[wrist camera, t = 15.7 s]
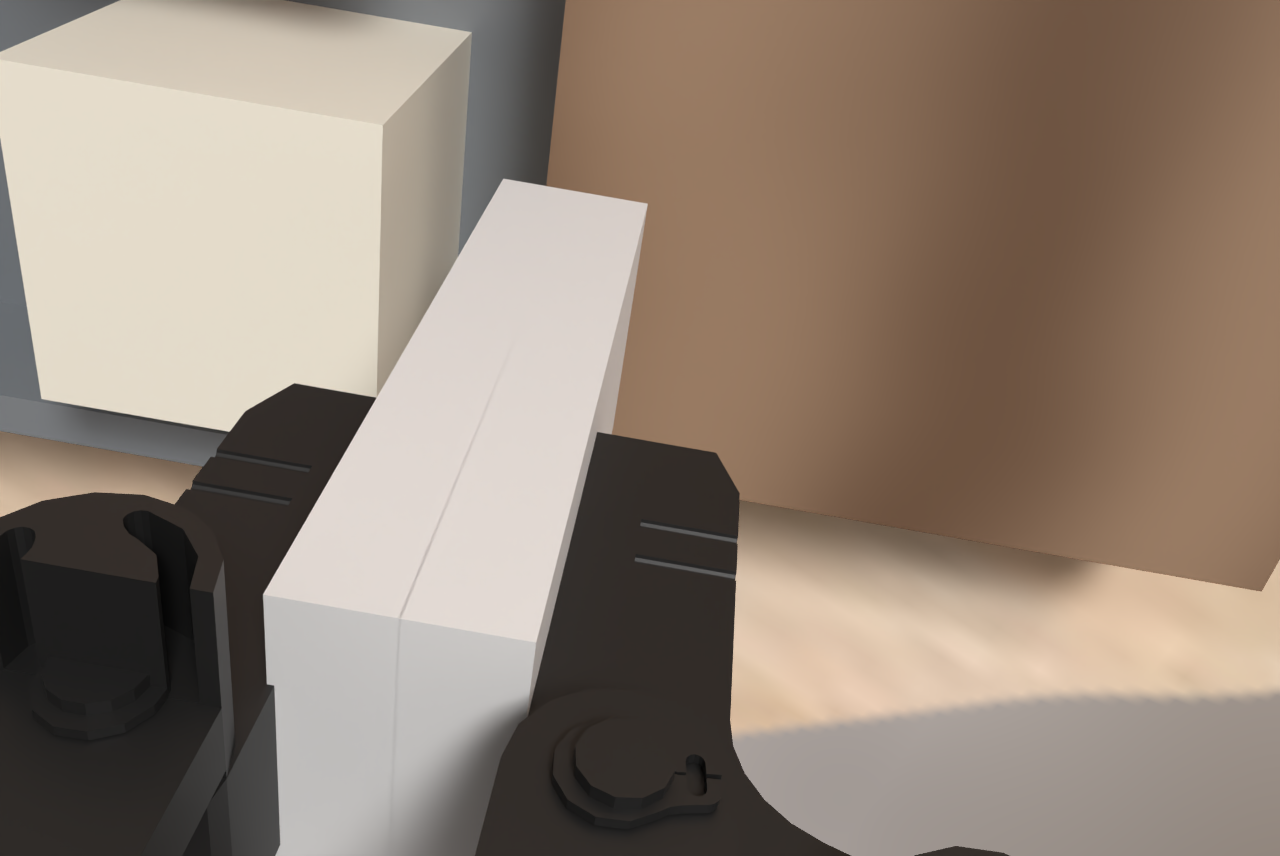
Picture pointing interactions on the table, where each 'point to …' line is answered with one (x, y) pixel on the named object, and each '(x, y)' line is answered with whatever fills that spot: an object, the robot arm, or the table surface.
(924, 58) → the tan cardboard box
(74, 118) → the ivory block
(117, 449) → the tray
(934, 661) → the table surface
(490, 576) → the robot arm
